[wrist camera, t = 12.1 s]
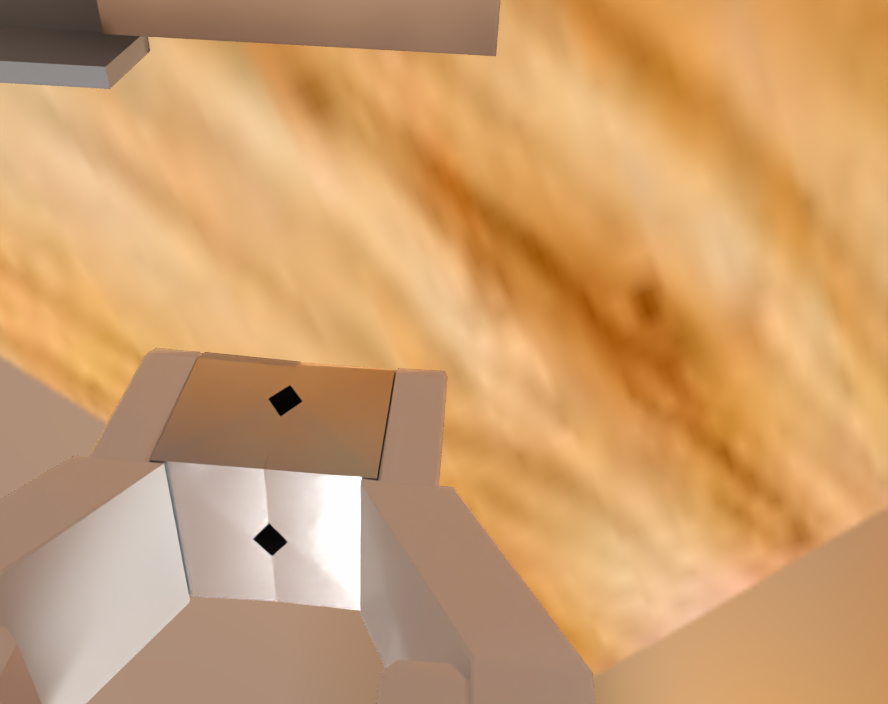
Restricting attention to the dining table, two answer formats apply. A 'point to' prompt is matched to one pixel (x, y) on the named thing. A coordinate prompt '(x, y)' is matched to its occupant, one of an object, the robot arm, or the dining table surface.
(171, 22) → the plate
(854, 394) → the dining table surface
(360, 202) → the dining table surface
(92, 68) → the box
